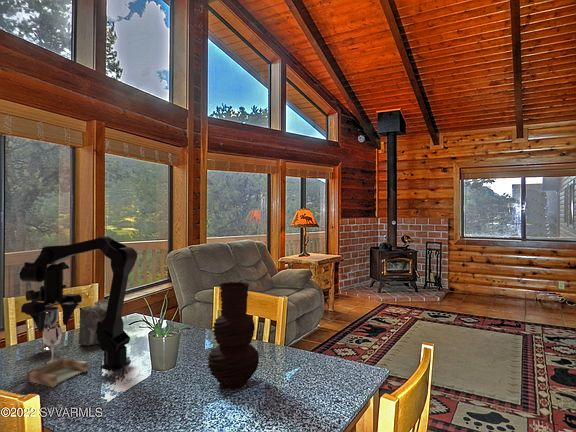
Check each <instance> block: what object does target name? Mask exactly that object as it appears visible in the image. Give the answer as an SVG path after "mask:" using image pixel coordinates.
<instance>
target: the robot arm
mask: <svg viewBox="0 0 576 432" xmlns="http://www.w3.org/2000/svg"><path fill="white" fill-rule="evenodd" d="M97 250H100V251H101V252H102V253H103V254H104V256H105V257H107V258H108V259H110V267H111V271H112V278H111V283H110V291H109V294H108V295H109V296H108V299H107V300H108V306H107V311H106V316H105V318H104V319H102V320H100V321H98V323H97V330H96V332H95V334H97V335H96V338H97V340H98V341H99V343H98V344H99V346H100V350H101V352H103V364H102V365H100V368H101V369H106V370H112V371H113V370H114V371H118V370H119V369H122V368H123V367H125V366H127V365H129V364H130V363H131V362H130V361H128V360H127V354H128V353H127V348H128V347H127V346H126V345H128V344H129V343H130V340H131V337H130V336H129V334H128V333H127V332H126V331H125V330H124V320H123V317H122V313H123V308H124V303H125V302H124V301H125V296H126V292H127V291H126V290H127V285H128V279H129V275H130V273H131V272H132V270H133V269H134V267H135V264H136V262H137V258H138V252H137V251H136V250H135V248H133V247H130V246H127V245H125V244H123V243H122V242H119V241H116V240H115V239H114V238H112V237H111V236H99V237H97V238H93V239H88V240H84V241H80V242H76V243H71V244H55V245H46V246H44V247H42V248H41V251H40V253H39V255H38V256H37V258H36V259H35V261H25V262H24V264H23V266H22V267H21V270H20V272H19V274H18V275H19V276H18V277H19V279H20V280H21V281H22V282H25V283H42V282H43V285H41V286H40V287H39V290H37V291H35V290H34V289H32V290H28V291H27V290H26V292H25V300H26V301H27V302H26V303H23V304H22V305H21V307H20V309H21V311H20V313H21V314H22V313H23V314H25V315H28V316H30V317H31V319H32V320H33V321H34V324H36V325H35V326H36V329H37V331H38V332H39V333H43V332H42V331H43V328H44V322H45V316H46V312H43V311H44V310H45V308H46V307H50V306H55V307H56V306H58V305H60V307H61V309H62V325H64V326H66V325H68V322H69V320H70V318H71V317H72V315H73V313H74V311H76V308H77V307H78V306H79V305H80V303H82V301H83V300H82V299H83V297H82V295H81V294H79V293H67V294H64V289H65V288H67V284H64V270H67V269H70V266H69V265H68V264H67V263H66V262H65V260H67V259H69V258H71V257H74V256H76V255H80V254H84V253H88V252H93V251H97ZM58 262H59V263H58ZM57 263H58V264H57Z"/></svg>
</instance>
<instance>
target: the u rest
mask: <svg viewBox="0 0 576 432" xmlns="http://www.w3.org/2000/svg"><path fill="white" fill-rule="evenodd" d="M56 360H57V361H54V362H52V363H49V364H47V365H45V364H44V365H41V366H39V367H36V368H34V369H32V370H30V371H27V372H26V373H27V374H26V382H27V381H28V382H27V383H29V382H33V383H32V384H34V383H37V384H36V385H39V384H42V385H41V386H44V385H47V386H46V387H49V386H51V387H50V388H55V387H57V386H58V385H59V384H58V383H60V382H62V381H64V382H66V381H67V380H66V379H69V378H71V377H73V376H75V375H77V376H79V375H81V374H80V373H82V372H85V373H87V372H88V368H89V366H88V364H89V363H88V361H83V360H78V359H71V358H68V357H67V358H66V357H63V358H60V359H56ZM86 371H87V372H86ZM78 374H79V375H78ZM82 374H83V373H82ZM75 377H76V376H75ZM73 378H74V377H73ZM71 379H72V378H71ZM65 380H66V381H65ZM69 380H70V379H69ZM62 383H63V382H62ZM57 384H58V385H57ZM60 384H61V383H60ZM56 385H57V386H56ZM54 386H55V387H54Z"/></svg>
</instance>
